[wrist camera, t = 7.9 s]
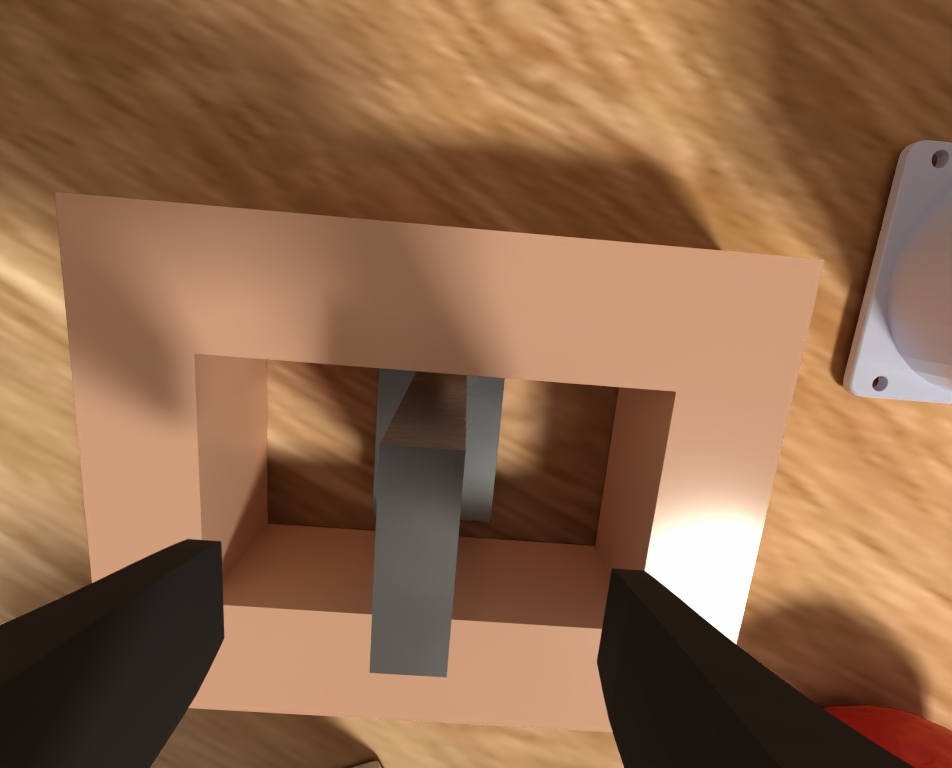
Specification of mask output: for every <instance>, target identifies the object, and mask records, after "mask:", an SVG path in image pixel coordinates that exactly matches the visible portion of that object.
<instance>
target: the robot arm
mask: <svg viewBox="0 0 952 768" xmlns="http://www.w3.org/2000/svg"><path fill="white" fill-rule="evenodd" d="M934 154H935V155H936V157H937V163H936V165H935V167H934V166H933V164H932V157H933V155H934ZM877 377H878V378H879V382H878V384H877V385H876V386H875V387H874V388H873V387H872V383H873V381H874V379H875V378H877ZM843 386H844V388H845V390H846V391H847V392H848V393H851V394H854V395H857V396H860V397H872V398H884V399H897V400H909V401H922V402H934V403H947V404H952V142H943V141H933V140H923V141H918V142H915V143H912V144H910V145H908V146H906V147H905V149H904V150H903V151H902V152H901V154H900V156H899V159H898V163H897V167H896V171H895V175H894V179H893V183H892V187H891V191H890V195H889V199H888V203H887V207H886V211H885V215H884V219H883V223H882V227H881V231H880V235H879V239H878V243H877V247H876V251H875V255H874V259H873V263H872V267H871V271H870V275H869V279H868V283H867V287H866V291H865V295H864V299H863V303H862V307H861V311H860V315H859V319H858V323H857V327H856V331H855V335H854V339H853V343H852V347H851V351H850V355H849V359H848V363H847V367H846V371H845V375H844V379H843ZM223 640H224V608H223V576H222V545H221V541H209V540H195V539H186V540H184V541H181V542H179V543H176V544H174V545H171V546H169V547H167V548H164V549H162V550H160V551H158V552H156V553H154V554H151V555H149V556H147V557H145V558H143V559H141V560H139V561H137V562H135V563H133V564H130V565H128V566H126V567H124V568H122V569H120V570H118V571H116V572H114V573H112V574H110V575H108V576H106V577H104V578H102V579H99V580H97V581H95V582H93V583H91V584H89V585H87V586H85V587H83V588H81V589H79V590H77V591H75V592H72V593H70V594H68V595H66V596H64V597H62V598H60V599H58V600H56V601H53V602H51V603H49V604H47V605H44V606H42V607H40V608H38V609H36V610H33V611H31V612H29V613H27V614H24V615H22V616H20V617H18V618H16V619H13V620H11V621H9V622H7V623H4V624H2V625H0V768H150V767H151V765H152V763H153V762H154V760H155V759H156V757H157V756H158V754H159V753H160V751H161V750H162V748H163V747H164V745H165V744H166V742H167V740H168V739H169V737H170V736H171V734H172V733H173V731H174V730H175V728H176V726H177V725H178V723H179V722H180V720H181V719H182V717H183V716H184V714H185V712H186V711H187V709H188V708H189V706H190V705H191V703H192V701H193V700H194V698H195V697H196V695H197V693H198V691H199V689H200V687H201V685H202V683H203V681H204V679H205V677H206V675H207V674H208V672H209V670H210V668H211V665H212V663H213V661H214V659H215V657H216V655H217V653H218V651H219V649H220V647H221V645H222V642H223ZM597 666H598V671H599V676H600V681H601V686H602V691H603V696H604V700H605V705H606V709H607V714H608V718H609V722H610V725H611V728H612V731H613V735H614V738H615V741H616V744H617V747H618V750H619V753H620V756H621V759H622V762H623V765H624V768H915V767H913V766H912V765H910V764H908V763H907V762H905V761H903V760H902V759H900V758H898V757H897V756H895V755H894V754H892V753H890V752H889V751H887V750H885V749H884V748H882V747H881V746H879V745H878V744H876V743H875V742H873V741H872V740H870V739H868V738H867V737H865V736H864V735H862V734H861V733H859V732H858V731H856V730H855V729H853V728H852V727H850V726H849V725H847V724H845V723H844V722H842V721H841V720H839V719H838V718H836V717H835V716H833V715H832V714H830V713H829V712H827V711H826V710H824V709H823V708H821V707H820V706H818V705H817V704H816V703H814V702H813V701H811V700H810V699H808V698H807V697H806V696H804V695H803V694H801V693H800V692H799V691H797V690H796V689H795V688H793V687H792V686H790V685H789V684H788V683H786V682H785V681H784V680H782V679H781V678H780V677H778V676H777V675H775V674H774V673H773V672H771V671H770V670H769V669H767V668H766V667H765V666H763V665H762V664H761V663H759V662H758V661H757V660H755V659H754V658H753V657H752V656H750V655H749V654H748V653H746V652H745V651H744V650H743V649H741V648H740V647H739V646H737V645H736V644H735V643H734V642H732V641H731V640H730V639H729V638H727V637H726V636H725V635H724V634H722V633H721V632H720V631H719V630H718V629H716V628H715V627H714V626H713V625H711V624H710V623H709V622H708V621H707V620H705V619H704V618H703V617H702V616H700V615H699V614H698V613H697V612H696V611H694V610H693V609H692V608H691V607H690V606H688V605H687V604H686V603H685V602H684V601H682V600H681V599H680V598H679V597H677V596H676V595H675V594H674V593H673V592H671V591H670V590H669V589H668V588H667V587H665V586H664V585H663V584H662V583H660V582H659V581H658V580H656V579H655V578H654V577H653V576H651V575H650V574H648V573H647V572H646V571H644V570H629V569H615V568H612V570H611V576H610V582H609V589H608V595H607V601H606V607H605V613H604V620H603V626H602V632H601V638H600V645H599V651H598V657H597Z"/></svg>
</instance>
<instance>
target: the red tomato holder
mask: <svg viewBox="0 0 952 768" xmlns="http://www.w3.org/2000/svg"><path fill="white" fill-rule="evenodd" d="M823 709H824V710H826V711H827V712H829V713H830V714H832V715H833V716H835V717H836V718H838V719H839V720H841V721H842V722H844V723H845V724H847V725H849V726H850V727H852V728H853V729H855V730H856V731H858V732H859V733H861V734H862V735H864V736H865V737H867V738H868V739H870V740H872V741H873V742H875V743H876V744H878V745H879V746H881V747H882V748H884V749H885V750H887V751H889V752H890V753H892V754H894V755H895V756H897V757H898V758H900V759H902V760H903V761H905V762H907V763H908V764H910V765H912V766H913V767H915V768H952V731H950V730H949V729H947V728H945V727H942V726H940V725H938V724H936V723H933V722H931V721H928V720H926V719H924V718H921V717H919V716H917V715H915V714H912V713H908V712H904V711H901V710H898V709H893V708H885V707H875V706H869V705H855V706H830V707H824V708H823Z"/></svg>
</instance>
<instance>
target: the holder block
mask: <svg viewBox="0 0 952 768" xmlns="http://www.w3.org/2000/svg"><path fill="white" fill-rule="evenodd" d="M55 203H56V213H57V223H58V234H59V244H60V255H61V265H62V276H63V286H64V297H65V307H66V317H67V328H68V338H69V349H70V359H71V370H72V380H73V391H74V401H75V411H76V422H77V432H78V443H79V453H80V464H81V474H82V485H83V495H84V505H85V516H86V526H87V537H88V547H89V558H90V568H91V579H92V583H93V582H95V581H97V580H99V579H102V578H104V577H106V576H108V575H110V574H112V573H114V572H116V571H118V570H120V569H122V568H124V567H126V566H128V565H130V564H133V563H135V562H137V561H139V560H141V559H143V558H145V557H147V556H149V555H151V554H154V553H156V552H158V551H160V550H162V549H164V548H167V547H169V546H171V545H174V544H176V543H179V542H181V541H184V540H186V539H195V540H209V541H221V545H222V576H223V608H224V640H223V642H222V645H221V647H220V649H219V651H218V653H217V655H216V657H215V659H214V661H213V663H212V665H211V668H210V670H209V672H208V674H207V675H206V677H205V679H204V681H203V683H202V685H201V687H200V689H199V691H198V693H197V695H196V697H195V698H194V700H193V701H192V703H191V705H190V706H189V708H195V709H213V710H230V711H248V712H266V713H283V714H301V715H319V716H336V717H354V718H372V719H389V720H407V721H425V722H442V723H460V724H478V725H495V726H513V727H530V728H548V729H566V730H583V731H601V732H613V731H612V728H611V725H610V722H609V718H608V714H607V709H606V705H605V700H604V696H603V691H602V686H601V681H600V676H599V671H598V666H597V657H598V651H599V645H600V638H601V632H602V626H603V620H604V613H605V607H606V601H607V595H608V589H609V582H610V576H611V570H612V568H615V569H629V570H644V571H646V572H647V573H648V574H650V575H651V576H653V577H654V578H655V579H656V580H658V581H659V582H660V583H662V584H663V585H664V586H665V587H667V588H668V589H669V590H670V591H671V592H673V593H674V594H675V595H676V596H677V597H679V598H680V599H681V600H682V601H684V602H685V603H686V604H687V605H688V606H690V607H691V608H692V609H693V610H694V611H696V612H697V613H698V614H699V615H700V616H702V617H703V618H704V619H705V620H707V621H708V622H709V623H710V624H711V625H713V626H714V627H715V628H716V629H718V630H719V631H720V632H721V633H722V634H724V635H725V636H726V637H727V638H729V639H730V640H731V641H732V642H734V643H735V644H736V643H737V639H738V635H739V630H740V626H741V622H742V617H743V613H744V609H745V604H746V600H747V595H748V591H749V587H750V582H751V578H752V574H753V569H754V565H755V561H756V556H757V552H758V548H759V543H760V539H761V535H762V530H763V526H764V522H765V517H766V513H767V508H768V504H769V500H770V495H771V491H772V487H773V482H774V478H775V474H776V469H777V465H778V461H779V456H780V452H781V448H782V443H783V439H784V434H785V430H786V426H787V421H788V417H789V413H790V408H791V404H792V400H793V395H794V391H795V387H796V382H797V378H798V374H799V369H800V365H801V360H802V356H803V352H804V347H805V343H806V339H807V334H808V330H809V326H810V321H811V317H812V313H813V308H814V304H815V300H816V295H817V291H818V286H819V282H820V278H821V273H822V269H823V265H824V260H823V259H812V258H800V257H789V256H778V255H766V254H755V253H744V252H732V251H721V250H710V249H699V248H687V247H676V246H665V245H653V244H642V243H631V242H619V241H608V240H597V239H585V238H574V237H563V236H551V235H540V234H529V233H517V232H506V231H495V230H483V229H472V228H461V227H449V226H438V225H427V224H415V223H404V222H393V221H381V220H370V219H359V218H347V217H336V216H325V215H313V214H302V213H291V212H279V211H268V210H257V209H245V208H234V207H223V206H211V205H200V204H189V203H177V202H166V201H155V200H143V199H132V198H121V197H109V196H98V195H87V194H75V193H64V192H55ZM266 359H269V360H282V361H294V362H307V363H320V364H332V365H345V366H358V367H370V368H383V369H396V370H408V371H421V372H434V373H446V374H459V375H472V376H484V377H497V378H510V379H522V380H535V381H548V382H560V383H573V384H586V385H598V386H611V387H619V391H618V397H617V404H616V411H615V417H614V424H613V431H612V437H611V444H610V451H609V457H608V464H607V471H606V477H605V484H604V491H603V497H602V504H601V511H600V517H599V524H598V531H597V537H596V544H595V546H589V545H574V544H559V543H545V542H530V541H516V540H501V539H486V538H472V537H458V549H457V561H456V572H455V584H454V596H453V608H452V620H451V632H450V644H449V656H448V668H447V678H446V677H430V676H413V675H396V674H379V673H369V672H370V649H371V625H372V602H373V579H374V556H375V533H376V531H370V530H355V529H341V528H326V527H311V526H297V525H282V524H268V485H267V367H266Z"/></svg>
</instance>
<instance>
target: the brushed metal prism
mask: <svg viewBox="0 0 952 768" xmlns="http://www.w3.org/2000/svg"><path fill="white" fill-rule="evenodd" d="M504 380H505V378H497V377H484V376H472V375H459V374H446V373H434V372H421V371H408V370H396V369H383V368H379V369H378V393H377V417H376V441H375V465H374V489H373V514H376V533H375V556H374V579H373V602H372V625H371V649H370V672H369V673H379V674H396V675H413V676H430V677H446V678H447V668H448V656H449V644H450V632H451V620H452V608H453V596H454V584H455V572H456V561H457V549H458V537H459V525H460V520H473V521H487V522H491V512H492V502H493V492H494V481H495V471H496V461H497V451H498V441H499V430H500V420H501V410H502V400H503V390H504Z"/></svg>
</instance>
